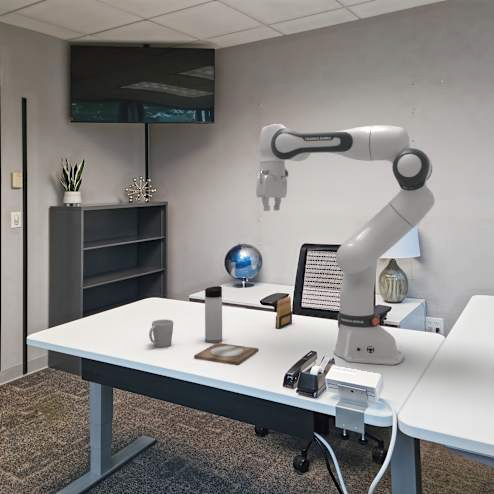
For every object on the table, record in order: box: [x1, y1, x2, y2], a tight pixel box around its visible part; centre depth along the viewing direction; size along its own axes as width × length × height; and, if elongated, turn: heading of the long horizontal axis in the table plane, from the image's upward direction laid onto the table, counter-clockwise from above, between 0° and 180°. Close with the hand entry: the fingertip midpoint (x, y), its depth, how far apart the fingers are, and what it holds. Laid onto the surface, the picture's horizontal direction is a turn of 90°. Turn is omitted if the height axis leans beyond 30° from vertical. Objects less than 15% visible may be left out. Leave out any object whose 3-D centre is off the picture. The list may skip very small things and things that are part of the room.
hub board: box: [193, 342, 259, 366], centre depth 165 cm, size 16×16×1 cm
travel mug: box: [204, 285, 223, 344], centre depth 181 cm, size 6×7×20 cm
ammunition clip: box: [275, 295, 293, 330], centre depth 203 cm, size 11×2×12 cm, turn 146°
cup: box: [148, 319, 174, 348], centre depth 175 cm, size 8×10×8 cm
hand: (271, 210), depth 174 cm, fingers open, 8 cm apart
